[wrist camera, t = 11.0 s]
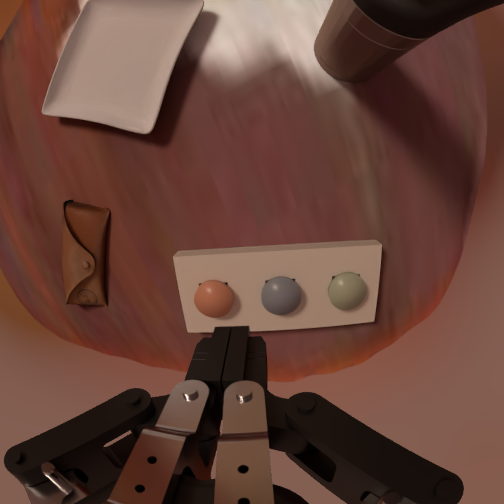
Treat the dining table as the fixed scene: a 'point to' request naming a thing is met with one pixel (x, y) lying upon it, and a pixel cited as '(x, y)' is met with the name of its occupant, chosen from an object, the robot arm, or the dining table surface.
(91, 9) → the salad plate
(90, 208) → the sunglasses case
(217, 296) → the terracotta button
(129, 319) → the dining table surface
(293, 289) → the slate button
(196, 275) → the button panel
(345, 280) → the sage button
